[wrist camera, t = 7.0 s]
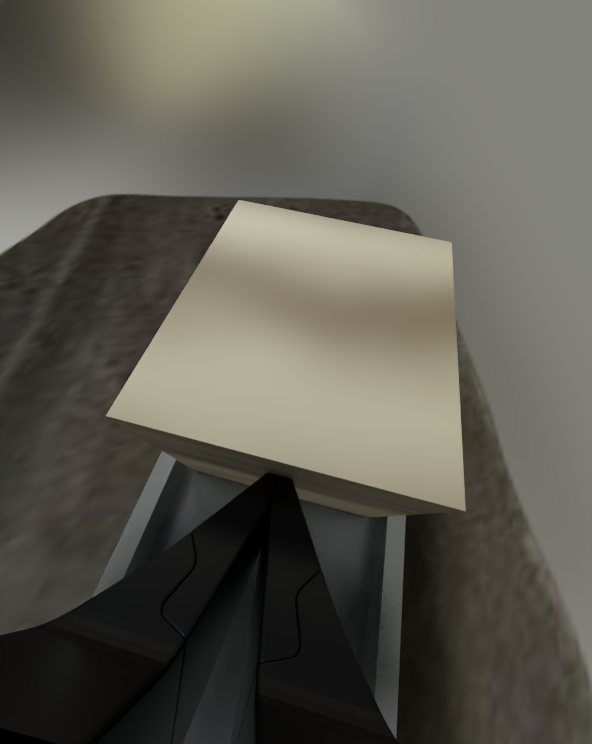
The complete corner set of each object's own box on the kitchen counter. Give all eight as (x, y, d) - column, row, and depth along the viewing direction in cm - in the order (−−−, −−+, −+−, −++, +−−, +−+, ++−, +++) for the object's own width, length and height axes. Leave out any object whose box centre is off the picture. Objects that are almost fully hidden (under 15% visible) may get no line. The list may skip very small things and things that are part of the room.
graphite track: (356, 1113, 8) (424, 1624, 4) (-47, 942, 8) (-280, 1244, 5) (406, 316, 21) (431, 276, 18) (252, 282, 22) (247, 237, 19)
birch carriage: (367, 517, 13) (465, 511, 6) (192, 469, 14) (105, 415, 7) (384, 350, 18) (451, 242, 11) (253, 320, 19) (238, 199, 12)
